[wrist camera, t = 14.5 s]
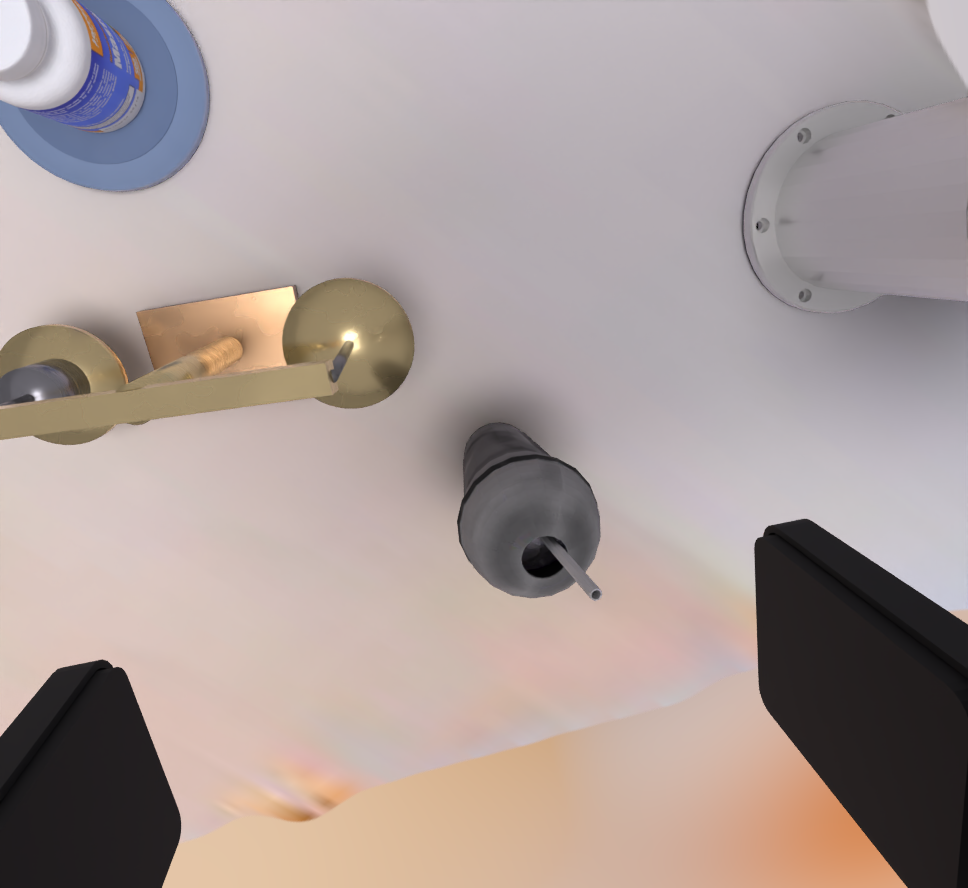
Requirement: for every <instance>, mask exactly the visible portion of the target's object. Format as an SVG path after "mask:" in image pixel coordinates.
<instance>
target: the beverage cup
mask: <svg viewBox="0 0 968 888" xmlns="http://www.w3.org/2000/svg"><path fill="white" fill-rule="evenodd" d="M463 470H464V498H463V500H462V503H461V507H460V511H459V516H458V520H457V524H458V533H459V542H460V544H461V546H462V548H463V550H464V552H465V554H466V556H467V558H468V560H469V561H470V563H471V564H472V565H473V567H474V568H475V569H476V570H477V572H478V573H479V574H481V575H482V576H483V577H484V578H485V579H486V580H487V581H488V582H489V583H490V584H491V585H492V586H494V587H496V588H498V589H500V590H502V591H504V592H506V593H508V594H510V595H513V596H520V597H527V598H538V597H545V596H552V595H554V594H556V593H558V592H561V591H563V590H565V589H567V588H569V587H570V586H571V585H573V584H574V583H575V582H577V583H578V584H579V585H580V587H581V588H582V589H583V590H584V591H585V592H586V594H587V595H588V596H589V597H590V598H591V599H592V600H594V601H596V600H599V599H600V598H601V596H602V591H601V590H600V589H599V588H598V586H597V585H596V584H595V583H594V582H593V581H592V580H591V579H590V578H589V576H588V575H587V574H586V573H585V572H586V570H587V569H588V567H589V566H590V564H591V563H592V561H593V560H594V558H595V555H596V551H597V548H598V544H599V541H600V516H599V511H598V508H597V502H596V499H595V497H594V494H593V492H592V489H591V487H590V484H589V483H588V482H587V481H586V480H585V478H584V477H583V476H582V475H581V474H580V473H579V472H578V471H577V469H576V468H574V467H572V466H570V465H568V464H567V463H565V462H563V461H561V460H559V459H558V458H554V457H551V456H550V455H549V454H548V453H546V452H545V451H544V450H543V449H542V448H541V447H540V446H539V445H537V444H536V443H535V442H534V441H533V440H532V439H531V438H529V437H528V436H527V435H526V434H525V433H523V432H521V431H520V430H519V429H517V428H515V427H513V426H512V425H510V424H504V423H492V424H488V425H486V426H483V427H481V428H479V429H478V430H477V431H476V432H475V433H474V434H473V435H472V436H471V437H470V439H469V441H468V442H467V444H466V448H465V453H464V460H463Z"/></svg>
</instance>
